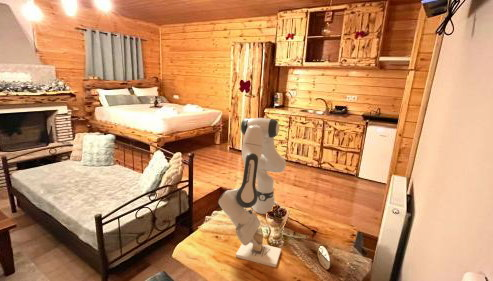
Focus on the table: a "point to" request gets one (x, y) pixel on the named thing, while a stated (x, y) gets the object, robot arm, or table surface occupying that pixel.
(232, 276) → the table surface
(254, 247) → the block
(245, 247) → the board
